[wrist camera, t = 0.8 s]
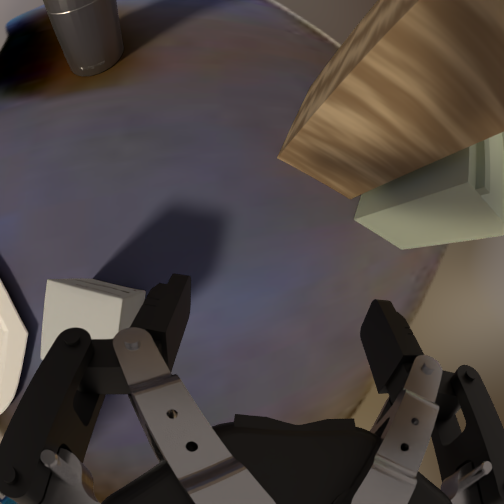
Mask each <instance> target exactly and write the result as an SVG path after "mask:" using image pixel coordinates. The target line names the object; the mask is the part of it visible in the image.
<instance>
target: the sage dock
mask: <svg viewBox="0 0 504 504" xmlns="http://www.w3.org/2000/svg"><path fill="white" fill-rule="evenodd" d="M354 220H355V221H357V222H358V223H360V224H362V225H363V226H365V227H366V228H368V229H370V230H371V231H373V232H375V233H376V234H378V235H379V236H381V237H383V238H384V239H386V240H387V241H389V242H390V243H392V244H394V245H395V246H397V247H398V248H400V249H401V250H402V249H410V248H417V247H425V246H432V245H440V244H447V243H454V242H461V241H468V240H475V239H482V238H489V237H495V236H502V235H504V132H502V133H499V134H497V135H495V136H492V137H490V138H488V139H485V140H483V141H481V142H478V143H476V144H474V145H472V146H469V147H467V148H465V149H462V150H460V151H458V152H456V153H453V154H451V155H449V156H446V157H444V158H442V159H440V160H437V161H435V162H433V163H431V164H428V165H426V166H424V167H422V168H419V169H417V170H415V171H413V172H410V173H408V174H406V175H403V176H401V177H399V178H397V179H394V180H392V181H390V182H388V183H386V184H383V185H381V186H379V187H377V188H374V189H372V190H370V191H368V192H365V193H363V194H361V198H360V201H359V204H358V207H357V210H356V214H355V217H354Z"/></svg>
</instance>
